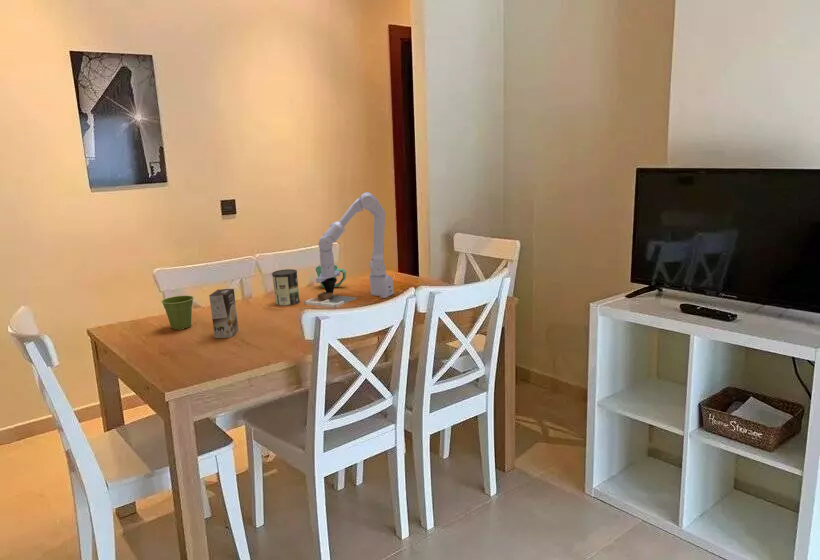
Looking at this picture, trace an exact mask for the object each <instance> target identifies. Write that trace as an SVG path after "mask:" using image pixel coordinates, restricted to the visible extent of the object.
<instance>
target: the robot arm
mask: <svg viewBox="0 0 820 560" xmlns="http://www.w3.org/2000/svg"><path fill="white" fill-rule="evenodd" d="M364 210H366V211H368V212H370V214H371V215H373V233H372V234H373V236H372V237H373V238H372V255H371V260H370V261H369V268H370V273H369V283H370V295H371V296H378V297H379V298H383V299H384V298H385V299H386V298H388V297H390V296H392V295H394V294H395V292H394V278H393V277H392V276H390V275H388V274H387V272H386V269H387V268H386V265H385V263H384V261H385V260H384V258H385V257H384V247H385V229H386V228H385V224H386V223H385V222H386V210H385V209H384V208H383V206H382V204H381V203H380V201H379V200H378V197H376V196H375V195H374V194H372V193H371V192H368V191H365V192H363V193H361V195H360V197H357V198H356V199H355V201H354V202H352V204H351V205H350V206H349V207H348V208H347V210H346V211H345V212H344V214H343V215H342V216H341V218H340V219H339V220H338V221H334V222H333V223H330V224H329V228H328V229H326V231H325V232H323V233H322V236H321V237H320V238H319V239H318V248H319V250H318V251H319V263H320V265H319V266H321V274H320V276H319V277H318V276H317V277H316V278H315V283H317V284H320V283H322V285H323V286H324V288H323V289H324V290H325V292H330V293H332V294H333V295H334V289H335V287H334V286H335V284H337V280H338V278H337V277H339V276H341V272H340V271H335V269H334V265H335V261H334V253H333V244H334V243H336V242H337V241H338V240H339V239H340V238H341V236H342V235H343V234H344V232H346V231H345V230H346V229H345V226H346V225H347V224H348V223H349V222H350V220H352V218H353V217H354V216H355V215H356V214H357V213H359V212H360V213H361V212H362V211H364ZM334 277H336V278H334Z"/></svg>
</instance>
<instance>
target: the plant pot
mask: <svg viewBox="0 0 820 560" xmlns="http://www.w3.org/2000/svg"><path fill="white" fill-rule="evenodd" d="M194 299H195V297H194V296H193V295H176V296H170V297H167V298H164V299H162V300H160V301H161V304H162V305H163V308H164V310H165V312H166V316H167V318H168V321H169V326H170V328H171V329H172V328H173V329H172V330H176V329H180V330H184V329H183V328H186V329H187V328H190V327H191V326H192V315H193V314H192V310H193V301H194Z"/></svg>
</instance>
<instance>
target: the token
mask: <svg viewBox="0 0 820 560" xmlns="http://www.w3.org/2000/svg"><path fill="white" fill-rule="evenodd" d="M333 295H334V293H333V294H332V293H330V292H326V291H323V292H321V293H318V294H317V299H318V300H320V301H325V300H327V299H329V300H330V299H333Z"/></svg>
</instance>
